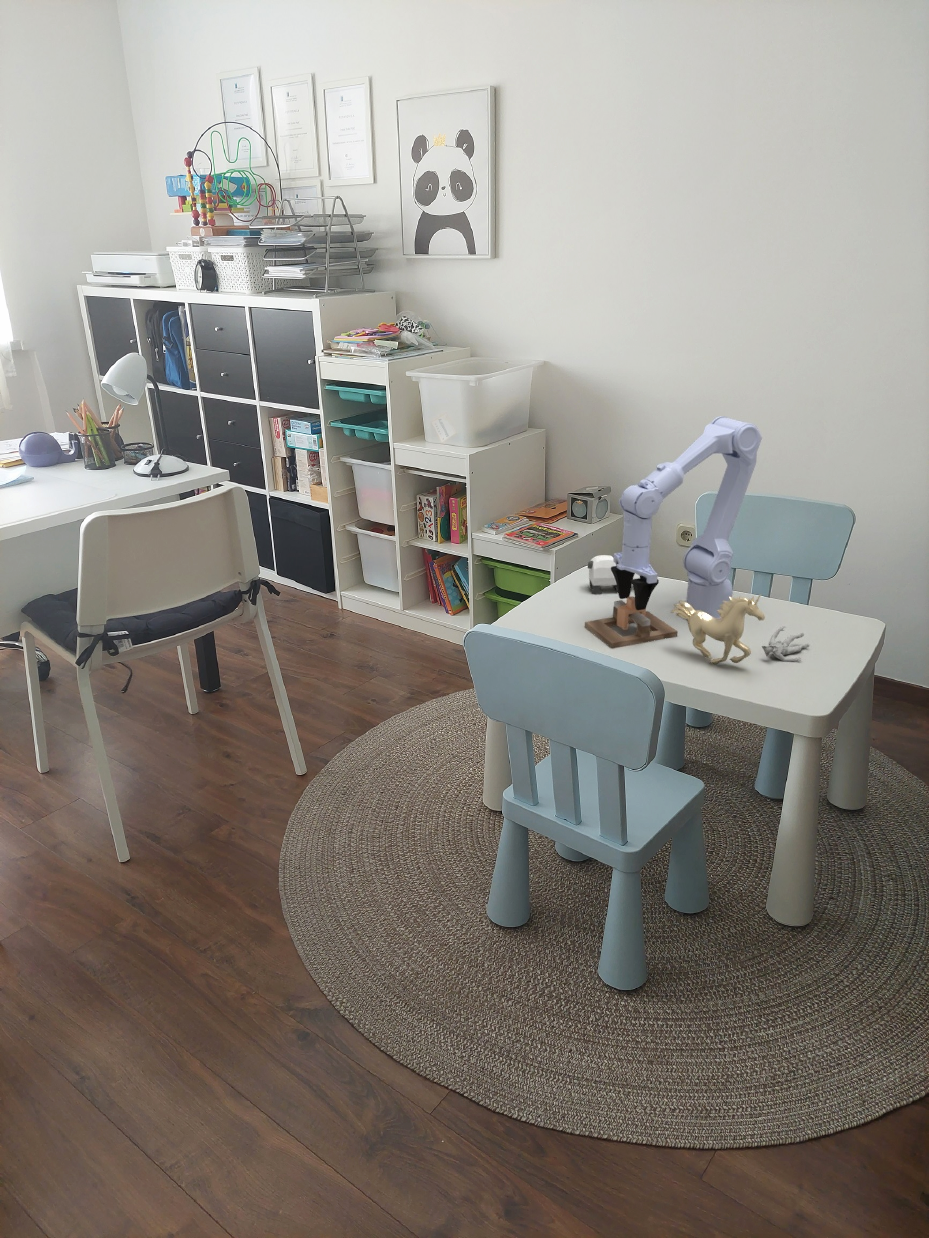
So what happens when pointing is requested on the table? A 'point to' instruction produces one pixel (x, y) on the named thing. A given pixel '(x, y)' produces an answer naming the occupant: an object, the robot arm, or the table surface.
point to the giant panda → (601, 573)
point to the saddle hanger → (627, 612)
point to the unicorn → (720, 625)
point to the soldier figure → (783, 646)
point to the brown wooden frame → (643, 622)
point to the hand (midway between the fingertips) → (632, 603)
